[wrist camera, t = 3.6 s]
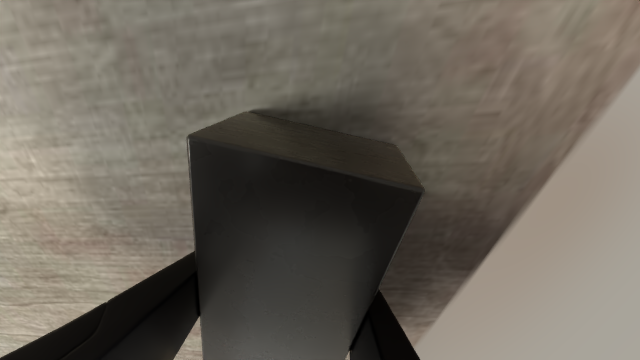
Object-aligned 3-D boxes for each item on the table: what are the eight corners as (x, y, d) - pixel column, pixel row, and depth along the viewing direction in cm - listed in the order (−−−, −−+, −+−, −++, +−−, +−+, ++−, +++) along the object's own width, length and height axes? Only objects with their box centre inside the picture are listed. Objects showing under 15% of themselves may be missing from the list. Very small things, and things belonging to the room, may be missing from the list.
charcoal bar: (244, 110, 7) (184, 134, 5) (397, 144, 7) (428, 189, 4) (235, 304, 12) (202, 375, 9) (330, 327, 12) (325, 403, 9)
